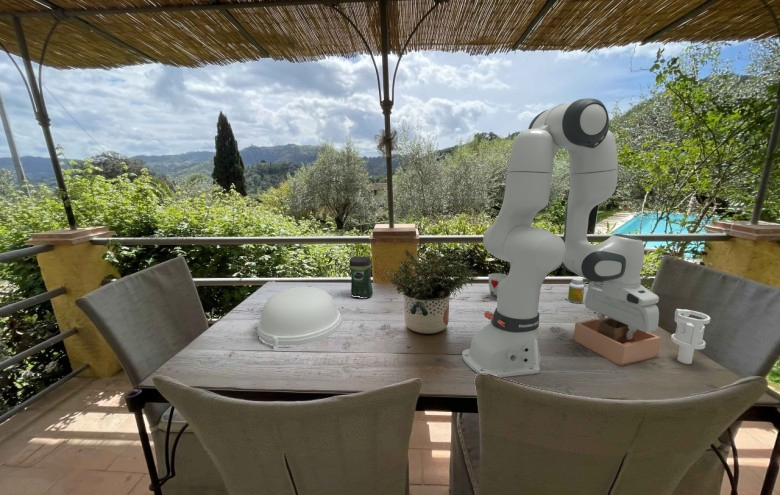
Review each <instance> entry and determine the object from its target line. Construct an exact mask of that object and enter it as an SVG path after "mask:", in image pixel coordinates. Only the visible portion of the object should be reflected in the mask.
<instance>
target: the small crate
mask: <svg viewBox="0 0 780 495" xmlns="http://www.w3.org/2000/svg"><path fill="white" fill-rule="evenodd" d="M629 330H630V329H628V325H626V324H624V323H622V322H619V321H617V320H614V319H612V318H610V319H606V320H602V321H598V324H597V332H598V333H600V334H603V335H605V336H607V337H609V338H611V339H613V340H615V341H617V342H619V343H621V344H623V343H627V342H630V341H634V340H635V334H636V331H635V332H634V333H633V337H632V339H629V340H628V339H626V338H624V337H623V335H624V332H626V331H629Z"/></svg>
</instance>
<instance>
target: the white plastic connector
mask: <svg viewBox="0 0 780 495" xmlns="http://www.w3.org/2000/svg"><path fill="white" fill-rule="evenodd" d="M690 316H694V317H695V316H696V317H699V318H701V319H697V318H694V317H690ZM673 320H674V322H675V323H676V328H675V333H672V334H671V337H670V341H671V342H672V343H674V344H676V345H677V346H679V347H678V352H677V354H678V355H677V358H676V359H677V361H678V362H680V363H682V364H686V365H687V364H688V365H690V364H692V363H693V356H694V353H695V350H704V349H705V348H706V344H707V343H706V341H705V340H704V339H703V338H704V333H705V327H706V326H705V325H708V324H710V323H711V316H709V315H708V314H706V313H703V312H700V311H695V310H691V309H686V308H685V309H682V308H676V309H675V312H674V319H673Z"/></svg>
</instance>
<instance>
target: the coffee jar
mask: <svg viewBox="0 0 780 495" xmlns="http://www.w3.org/2000/svg"><path fill="white" fill-rule="evenodd" d="M348 265H349V266H348V267H349V268H348V269H349V270H350V276H351V277H350V281H351V282H350V283H351V284H350V285H351V286H350V296H351V295H353V296H360V297H369V296H371V295H372V296H373V294H374V293H373V292H374V291H373V286H372V284H373V283H372V279H371V267H372V261H371V257H370V256H361V255H360V256H352V257H350V258H349V263H348ZM372 296H371V297H372ZM369 298H370V297H369Z"/></svg>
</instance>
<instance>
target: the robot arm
mask: <svg viewBox="0 0 780 495" xmlns="http://www.w3.org/2000/svg"><path fill="white" fill-rule="evenodd" d="M609 118H610V117H609V113H608V109H607V108H606V105H605V104H604V103H603V102H602V101H601V100H600V99H596V98H590V97H589V98H581V99H580V98H579V99H577V100H574V101H570V102H567V103H566V102H565V103H561V104H558V105H555V106H553V107H551V108H549V109H546V110H543V111H541V112H540V113H538V114H537V115H536V116H535V117H534V118H533V119H532V121H531V122H530V123H529V126H528V129H525V130H523V131H521V132H520V133H518V134H517V136H515V138H514V140H513V143H512V146H511V147H512V148H511V151H510V154H509V159H508V165H507V172H506V180H505V187H504V188H505V189H504V195H503V201H502V205H501V208H500V210H499V213H498V215H497V217H496V219H495V220H494V222H493V223H492V224H491V225H490V226H488V228H487V229H486V230H485V232H484V234H483V238H482V243H483V247H484V248H485V250H486V251H487V252H489V254H491V255H492V256H493V257H495V258H496V259H498V260H502V261H503V262H506V263H509V266H510V268H509V272H508V274H507V277H506V278H504V279H503V280H501V281H500V282H499V284H498V290H497V300H496V308H495V309H494V311H493V313H492V312H490V311H489V310H487V311H485V312H484V314H483V316H484V317H485V318H486V319H488V320H490V322H489V323H488V324H486V325H485V326H484V327H483V328H482V329H481V330H479V332H477V333H476V334H475V335H473V336H472V339H471V342H470V347H469V348H467V349H464V350H462V353H461V357H462V360H463V361H464V362H465V364H466V365H467V366H468V367H469V368H470V369H471V370H473V371H474V372H475V373H477V374H478V372H484V373H490V374H494V375H497V376H500V377H499V378H506V377H514V376H525V375H534V374H539V373H540V371H541V368H540V364H541V363H542V357H541V354H540V349H539V336H538V328H539V326H540V312H539V303H540V295H541V294H540V293H541V289H542V285H543V282H544V281H545V279H546V278H547V276H548V275H549V274H550V273H551V272H553V271H556V270H557V269H558V268H559V267H560V266H561V267H562V268H563V269H564V270H566V271H568V272H571V273H574V274H576V275H577V276H579V277H580V278H582V279H585V280H587V281H590V282H588V285H587V291H586V293H585V294H586V295H585V298H584V307H585V308H586V309H588V310H591V311H593V312H595V313H596V314H597V318H599V320H600V321H602V320H606V318H605V316H607V317H609V318H612V319H614V320H617V321H619V322H622V323H624V324H626V325H628V329H630V330H629V331H626V332H624V335H623V337H624V338H626V339H628V340H629V339H632V337H633V333H634V332H635V331H637V330H641V331H643V332H649V333H652V332H654V331H656V330H657V329H658V328H659V327H658V326H659V320H660V319H659V318H660V311H659V307H658V306H657V303H658V302H659V300H660V297H659V296H658V295H657V294H656V293H654V292H652V291H651V290H649V289H648V288H646V287H645V286H643V285H642V280H641V272H642V270H643V268H644V261H645V260H644V259H645V247H644V242H643V240H642V239H641V238H639V237H636V236H632V235H628V234H622V233H613V234H611V235H610V236H609V238H607V239H606V240H603V241H602V242H600V243H598V244H594V245H592V244H590V242H589V241H588V236H587V235H588V228H589V227H588V226H589V217H590V214H591V211H592V210H593V209H594V208H595V207H596V206H598V205H600V204H602V203H604V202H605V201H607V200H609V198H610V197H612V196H613V194H614V193H615V192H616V188H617V184H618V176H619V174H618V169H619V168H618V164H619V163H618V152H617V151H618V150H617V145H616V139H615V136H614V133H613V132H612V131H611V130H609V129H610V128H609V127H610V119H609ZM560 149H562V150H563V149H565V150H566V152H567V153H568V155H569V157H570V158H569V159H570V161H569V162H570V163H569V190H568V191H569V192H568V197H567V200H566V206H565V215H564V217H565V218H564V228H563V238H562V237H561V236H559V235H557V234H556V233H553V232H551V231H549V230H547V229H544V228H539V227H534V226H532V223H533V221H534V218H535V217H536V215H537V214H538V213H539V212H540V211H541V210H543V209H545V208H546V207H547V205H548V203H549V202H550V195H551V187H552V181H553V180H552V179H553V173H554V172H553V171H554V163H555V162H554V160H555V157H556V154H557V152H558V151H559V150H560Z"/></svg>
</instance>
